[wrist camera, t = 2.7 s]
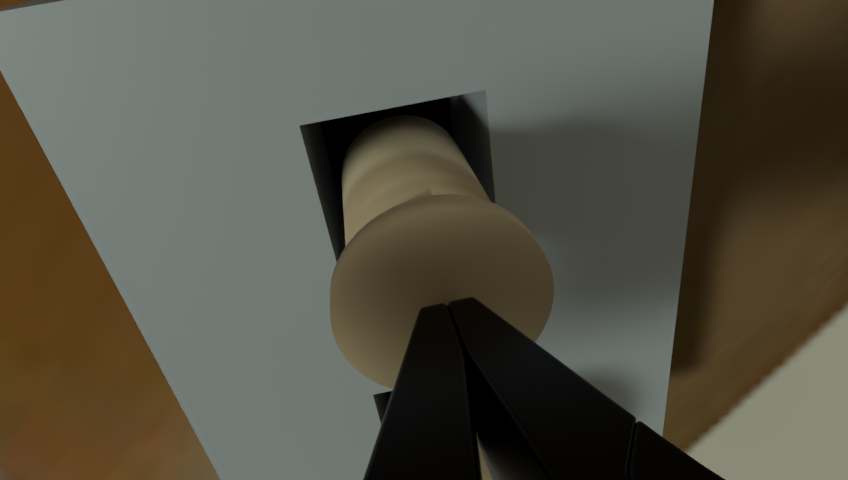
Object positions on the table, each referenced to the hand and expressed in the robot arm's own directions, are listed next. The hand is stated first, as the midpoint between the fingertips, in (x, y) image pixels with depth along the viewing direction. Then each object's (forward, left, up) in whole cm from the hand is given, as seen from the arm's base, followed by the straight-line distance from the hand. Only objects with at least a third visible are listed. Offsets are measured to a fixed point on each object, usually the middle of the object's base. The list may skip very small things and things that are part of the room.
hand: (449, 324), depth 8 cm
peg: (0, 0, -6) cm, 6 cm away
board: (-4, 0, -10) cm, 11 cm away
